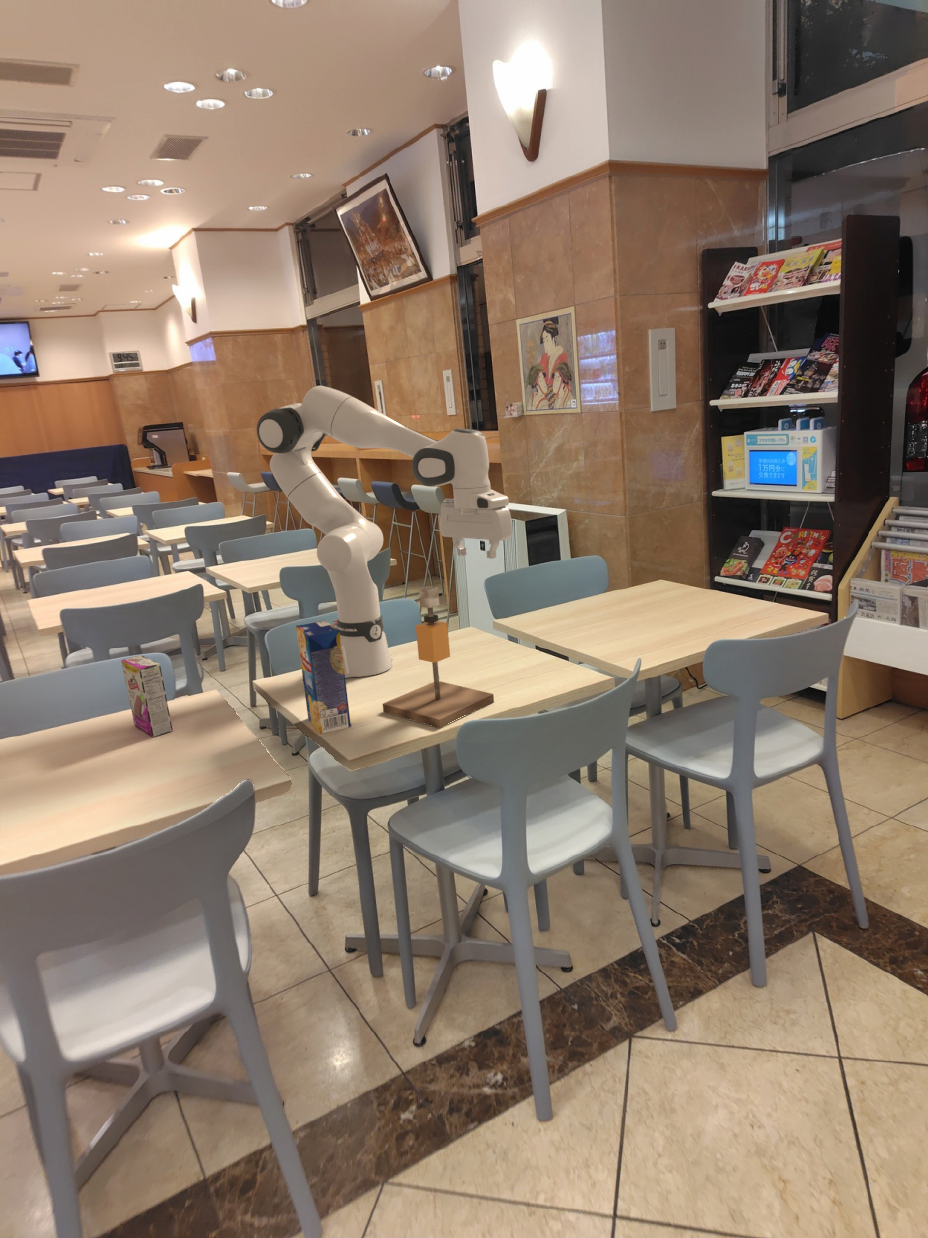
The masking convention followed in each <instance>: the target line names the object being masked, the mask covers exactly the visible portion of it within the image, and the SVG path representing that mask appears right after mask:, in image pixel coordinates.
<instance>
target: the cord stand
mask: <svg viewBox="0 0 928 1238" xmlns="http://www.w3.org/2000/svg"><path fill="white" fill-rule="evenodd" d="M418 597H419V605H420V606H419V607H420V608H426V609H427V614H426V615H424V616H423V621H424V622H427V623H429V625H434V622H436V621H439V615H438V614H436V613H435V614H434V608H435V607H437V606H440V595H439V587H436V586H430V585H429V586H428V585H427V586H425V587H422V588H421V587H420V588H419V589H418ZM424 622H423V623H424ZM438 662H439V661H438ZM438 662H436V663H433V662H431V664H432V675H433V676H432V677H433V682H430V683H428V684H426V685H423V686H421V687H419V688H416V689H414V690H412V691H410V692H407V693H404V694H403V695H400V696H398V697H395V698H393V699H391V700H388V701H386V702H384V703H382V710H383V711H382V712H383V713H385V712H386V713H385V714H389V713H390V714H389V715H392V714H393V716H396V715H397V716H396V717H399V716H400V718H404V719H406V720H409V719H410V720H409V721H413V720H414V722H416V721H417V723H420V722H421V723H420V724H423V723H425V724H424V725H427V724H428V725H427V726H430V725H432V726H431V727H434V726H435V727H434V728H437V727H438V729H442V728H444V727H446V726H448V725H449V724H448V723H450V722H452V721H454V720H456V719H458V718H460V717H462V716H464V715H466V714H468V713H471V712H473V713H475V712H476V711H475V710H477V711H479V710H481V709H483V708H485V707H487V706H489V705H491V704H493V703H495V699H494V698H495V697H494V696H495V695H494V693H491V692H487V691H482V690H479V689H473V688H470V687H465V686H462V685H459V684H453V683H449V682H444V681H440V676H439V673H440V672H439V663H438ZM480 708H481V709H480ZM478 709H479V710H478ZM474 711H475V712H474ZM471 714H472V713H471ZM462 718H463V717H462ZM460 719H461V718H460ZM458 720H459V719H458ZM456 721H457V720H456ZM454 722H455V721H454ZM452 723H453V722H452ZM447 724H448V725H447ZM450 724H451V723H450ZM445 725H446V726H445ZM443 726H444V727H443Z"/></svg>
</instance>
